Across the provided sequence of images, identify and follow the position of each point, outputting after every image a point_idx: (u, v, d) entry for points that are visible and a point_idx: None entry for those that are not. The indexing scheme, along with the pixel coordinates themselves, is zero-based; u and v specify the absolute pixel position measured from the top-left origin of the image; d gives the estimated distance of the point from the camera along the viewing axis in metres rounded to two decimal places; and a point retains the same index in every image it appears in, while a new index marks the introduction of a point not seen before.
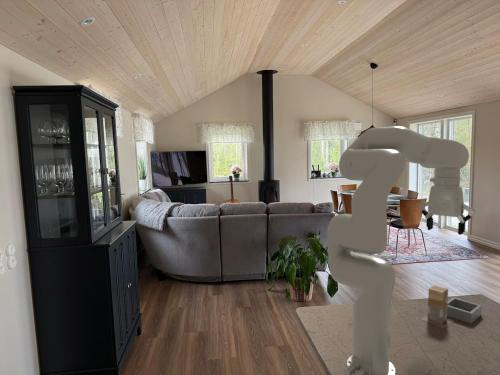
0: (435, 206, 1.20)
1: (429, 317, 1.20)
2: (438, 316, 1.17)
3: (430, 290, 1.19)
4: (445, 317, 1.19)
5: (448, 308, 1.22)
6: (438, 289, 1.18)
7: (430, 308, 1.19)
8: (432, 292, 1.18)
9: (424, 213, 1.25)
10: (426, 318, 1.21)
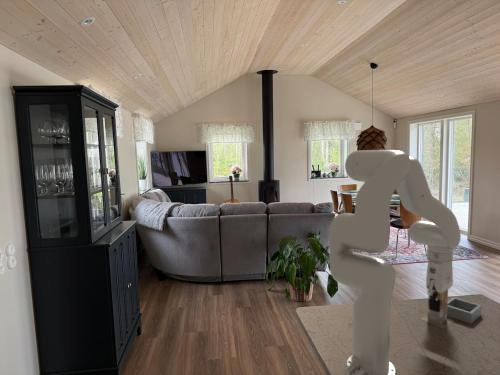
0: (444, 283, 1.15)
1: (429, 317, 1.20)
2: (438, 316, 1.17)
3: None
4: (445, 317, 1.19)
5: (448, 308, 1.22)
6: None
7: None
8: None
9: (435, 296, 1.16)
10: (426, 318, 1.21)
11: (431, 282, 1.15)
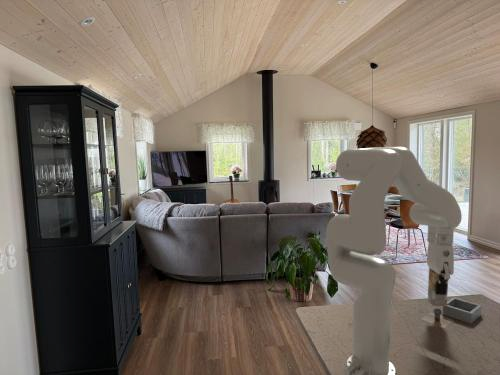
0: None
1: (434, 303, 1.17)
2: (444, 298, 1.16)
3: (436, 275, 1.16)
4: None
5: (448, 308, 1.22)
6: None
7: None
8: None
9: None
10: (426, 318, 1.21)
11: (445, 266, 1.13)
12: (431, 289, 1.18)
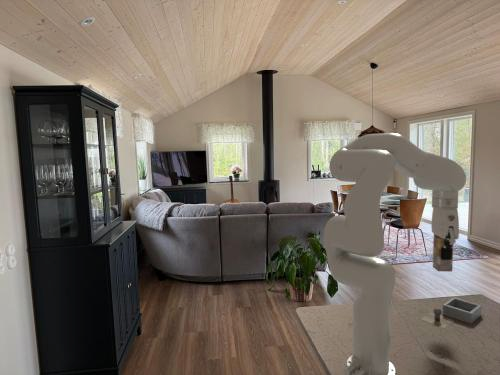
0: None
1: (440, 268, 1.16)
2: (449, 263, 1.16)
3: (441, 240, 1.15)
4: None
5: (448, 308, 1.22)
6: None
7: None
8: None
9: None
10: (426, 318, 1.21)
11: (450, 230, 1.12)
12: (436, 255, 1.18)
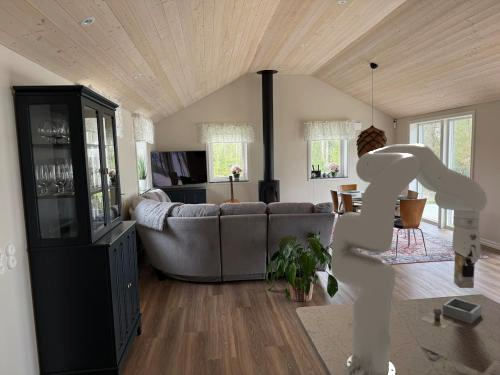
0: None
1: (461, 285, 1.20)
2: (471, 280, 1.20)
3: (463, 258, 1.19)
4: None
5: (448, 308, 1.22)
6: None
7: None
8: None
9: None
10: (426, 318, 1.21)
11: (472, 249, 1.15)
12: (458, 272, 1.21)
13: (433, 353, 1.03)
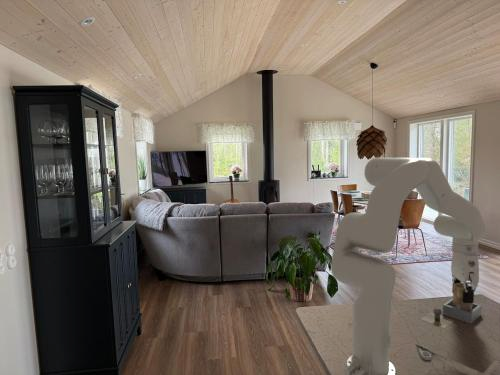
0: None
1: None
2: None
3: (461, 289, 1.20)
4: None
5: (448, 308, 1.22)
6: None
7: (460, 307, 1.21)
8: (463, 290, 1.20)
9: None
10: (426, 318, 1.21)
11: (471, 274, 1.16)
12: (456, 303, 1.22)
13: (426, 354, 1.02)
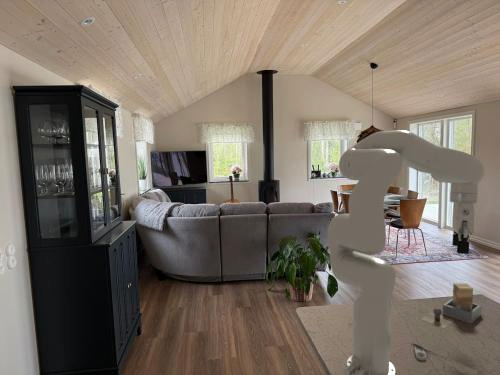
0: None
1: None
2: None
3: (461, 289, 1.20)
4: None
5: (448, 308, 1.22)
6: (464, 286, 1.21)
7: (460, 307, 1.21)
8: (463, 290, 1.20)
9: None
10: (426, 318, 1.21)
11: (464, 222, 1.10)
12: (456, 303, 1.22)
13: (421, 354, 1.02)
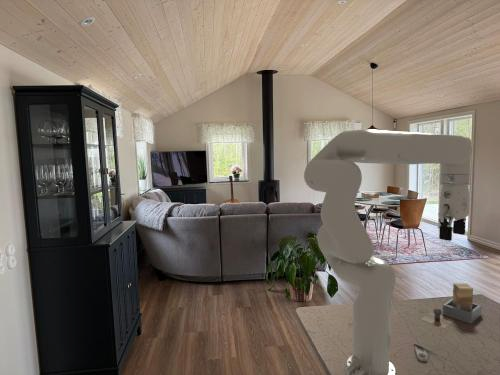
0: (460, 209, 1.01)
1: None
2: None
3: (461, 289, 1.20)
4: None
5: (448, 308, 1.22)
6: (464, 286, 1.21)
7: (460, 307, 1.21)
8: (463, 290, 1.20)
9: (446, 222, 1.00)
10: (426, 318, 1.21)
11: (445, 205, 1.01)
12: (456, 303, 1.22)
13: (423, 355, 1.02)
